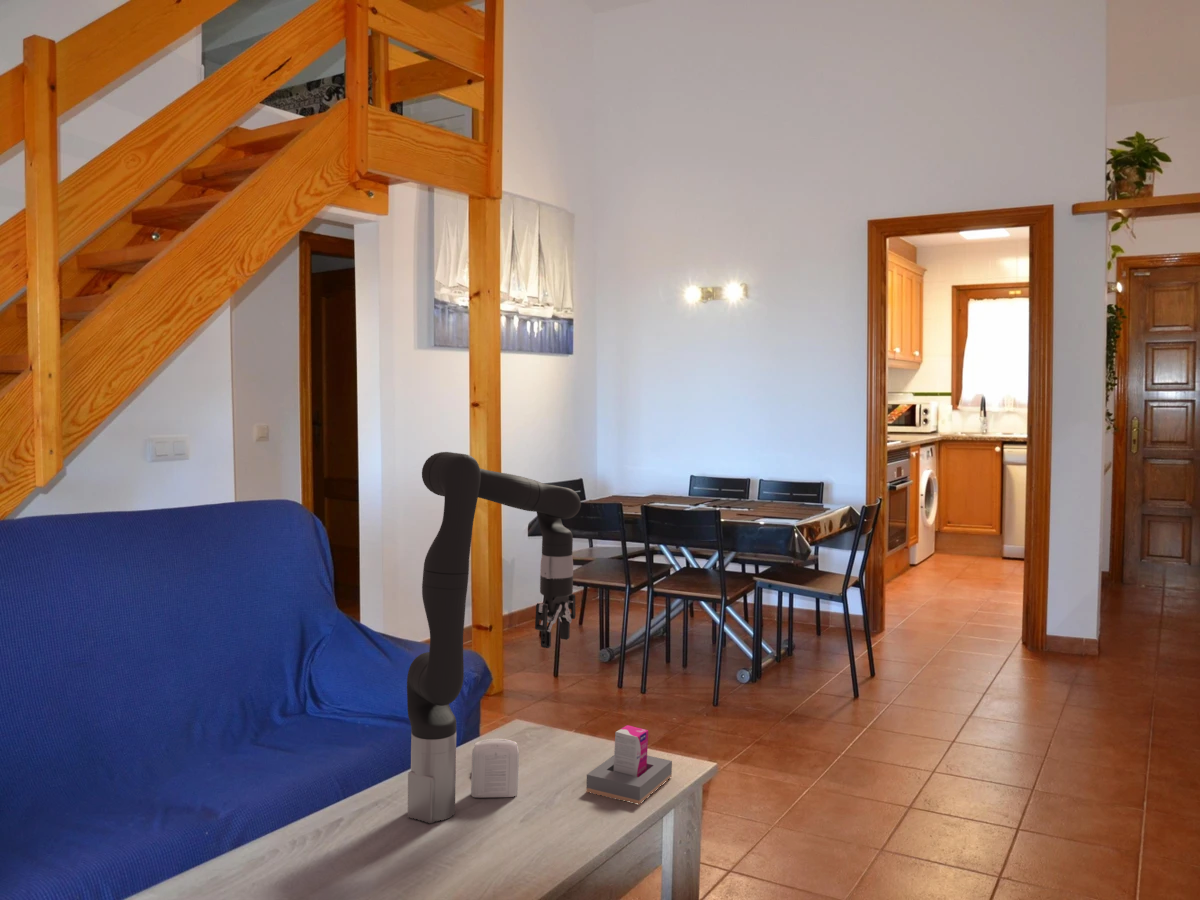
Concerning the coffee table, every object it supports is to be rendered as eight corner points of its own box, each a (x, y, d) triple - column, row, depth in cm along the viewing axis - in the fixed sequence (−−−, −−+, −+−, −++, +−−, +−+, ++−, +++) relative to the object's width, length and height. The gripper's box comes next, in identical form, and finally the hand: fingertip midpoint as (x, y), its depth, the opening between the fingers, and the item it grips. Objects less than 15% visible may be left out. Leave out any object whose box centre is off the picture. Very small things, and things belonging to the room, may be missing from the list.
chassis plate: (639, 805, 209) (639, 787, 208) (586, 792, 215) (586, 774, 215) (671, 777, 224) (671, 760, 223) (621, 766, 230) (621, 749, 230)
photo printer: (517, 790, 215) (518, 735, 214) (518, 798, 211) (519, 742, 210) (470, 791, 214) (471, 736, 213) (471, 799, 210) (471, 743, 209)
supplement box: (635, 787, 215) (636, 736, 215) (612, 781, 218) (613, 731, 218) (647, 778, 220) (648, 729, 220) (624, 772, 223) (625, 724, 223)
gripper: (558, 567, 231) (557, 634, 232) (526, 577, 219) (524, 647, 220) (586, 570, 228) (584, 638, 229) (555, 580, 215) (553, 652, 216)
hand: (555, 643), depth 224 cm, fingers open, 8 cm apart
